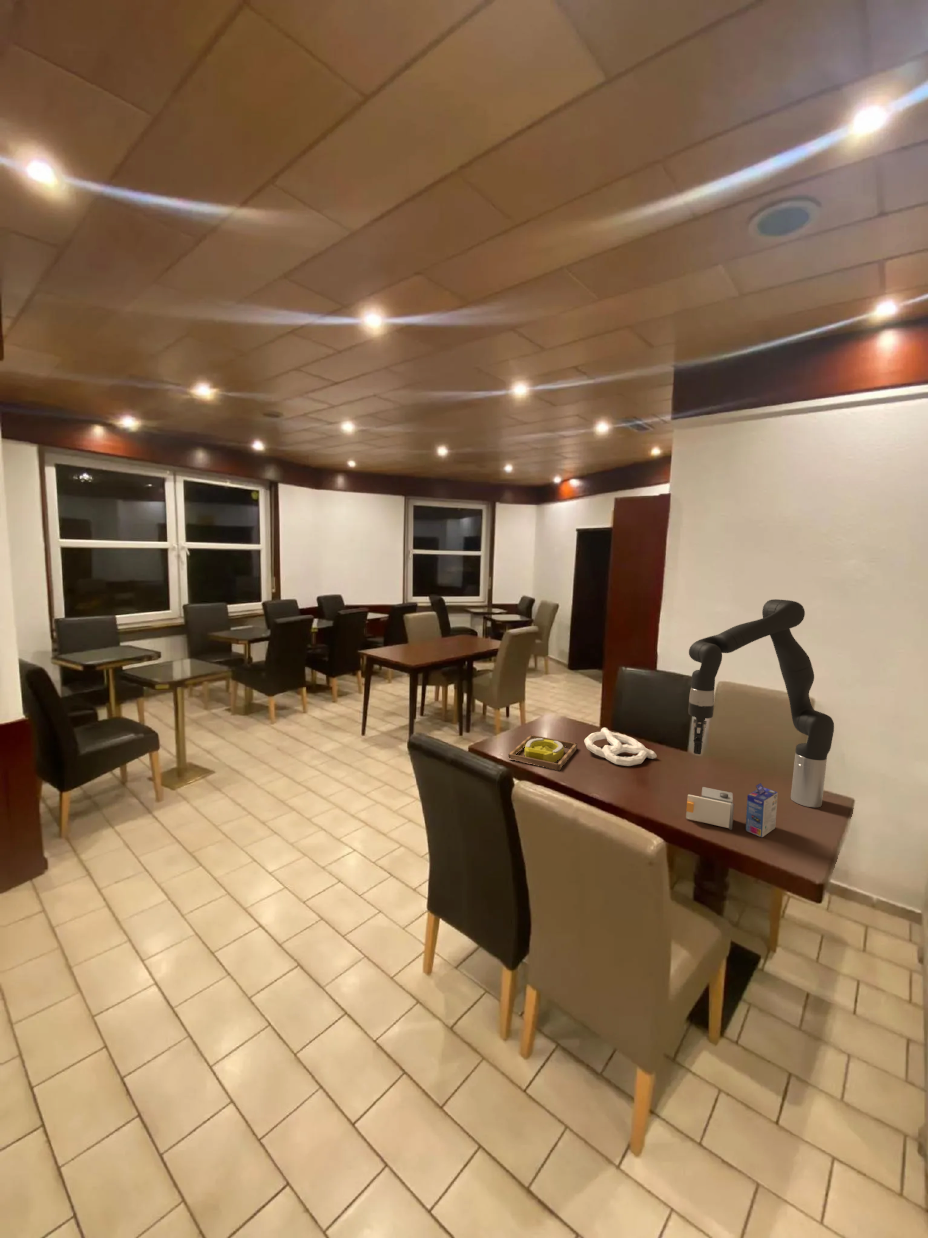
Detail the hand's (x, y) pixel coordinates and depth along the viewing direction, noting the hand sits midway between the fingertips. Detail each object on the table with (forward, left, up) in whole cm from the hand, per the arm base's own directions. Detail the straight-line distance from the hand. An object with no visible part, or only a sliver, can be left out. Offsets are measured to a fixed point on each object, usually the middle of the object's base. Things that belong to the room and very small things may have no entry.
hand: (697, 751), depth 170 cm
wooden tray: (-23, -61, -21) cm, 68 cm away
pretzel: (-39, -33, -22) cm, 55 cm away
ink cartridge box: (+2, +20, -21) cm, 29 cm away
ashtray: (-22, -61, -22) cm, 68 cm away
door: (+8, +5, -21) cm, 23 cm away
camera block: (+3, +7, -21) cm, 23 cm away
